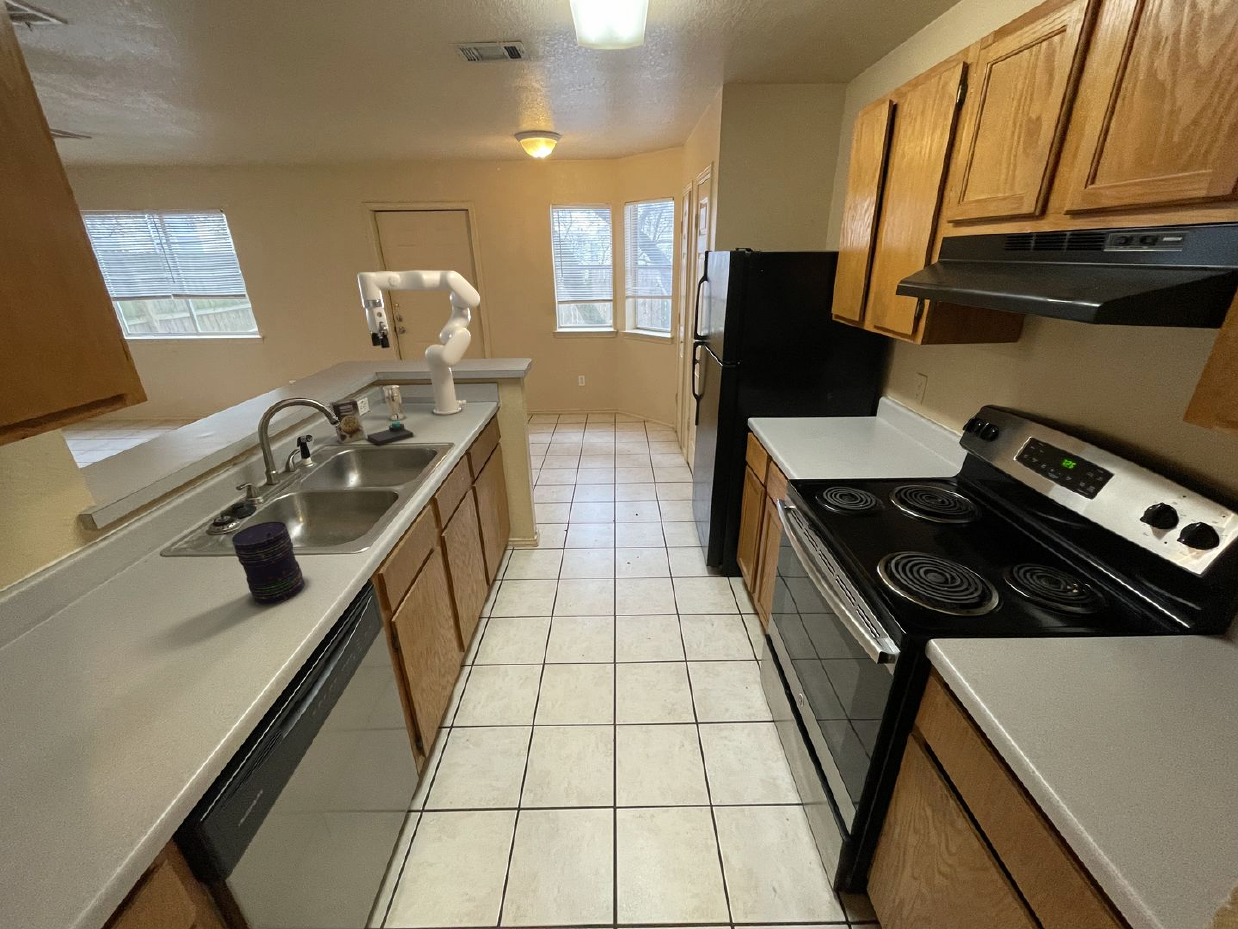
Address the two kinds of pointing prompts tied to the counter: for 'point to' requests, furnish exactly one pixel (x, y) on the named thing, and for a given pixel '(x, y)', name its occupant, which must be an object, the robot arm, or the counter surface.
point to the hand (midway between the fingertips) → (381, 346)
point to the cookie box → (348, 420)
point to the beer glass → (394, 401)
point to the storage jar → (269, 562)
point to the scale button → (396, 424)
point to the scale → (390, 435)
